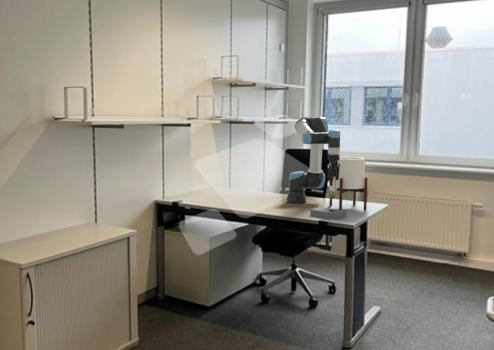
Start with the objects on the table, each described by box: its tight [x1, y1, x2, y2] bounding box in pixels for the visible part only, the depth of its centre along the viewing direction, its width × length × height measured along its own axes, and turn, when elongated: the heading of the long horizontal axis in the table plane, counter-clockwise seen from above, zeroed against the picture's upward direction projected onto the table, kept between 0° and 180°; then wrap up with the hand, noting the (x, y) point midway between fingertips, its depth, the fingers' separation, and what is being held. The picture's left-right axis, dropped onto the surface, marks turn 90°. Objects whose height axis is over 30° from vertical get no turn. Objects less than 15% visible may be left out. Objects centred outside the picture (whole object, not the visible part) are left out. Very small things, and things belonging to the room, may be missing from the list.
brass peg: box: [329, 176, 336, 199], centre depth 314 cm, size 3×3×14 cm
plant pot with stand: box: [329, 156, 368, 211], centre depth 346 cm, size 22×22×36 cm
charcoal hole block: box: [309, 206, 348, 220], centre depth 318 cm, size 20×12×4 cm, turn 50°
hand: (332, 190), depth 314 cm, fingers closed on brass peg, 3 cm apart
